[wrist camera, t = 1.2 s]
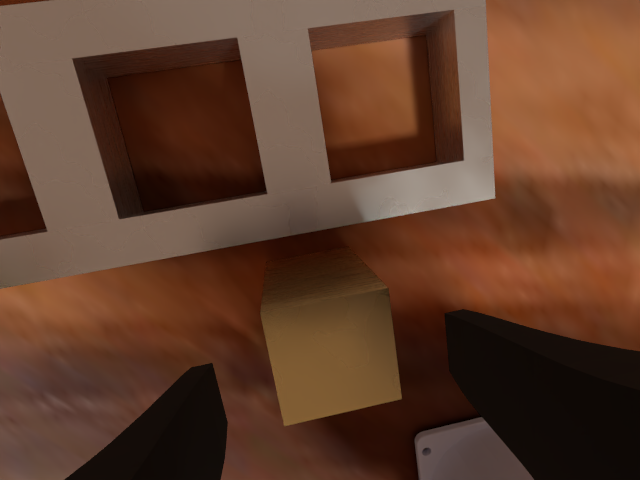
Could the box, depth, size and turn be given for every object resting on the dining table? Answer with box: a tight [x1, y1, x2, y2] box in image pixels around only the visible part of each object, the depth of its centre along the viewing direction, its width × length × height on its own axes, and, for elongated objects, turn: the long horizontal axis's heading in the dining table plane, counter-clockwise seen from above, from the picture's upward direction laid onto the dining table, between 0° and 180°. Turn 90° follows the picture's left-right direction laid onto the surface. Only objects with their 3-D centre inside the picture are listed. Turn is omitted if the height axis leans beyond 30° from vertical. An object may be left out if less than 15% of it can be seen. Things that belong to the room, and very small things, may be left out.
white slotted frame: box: [0, 0, 495, 289], centre depth 13 cm, size 9×24×2 cm, turn 99°
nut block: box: [260, 246, 402, 426], centre depth 14 cm, size 4×4×6 cm
